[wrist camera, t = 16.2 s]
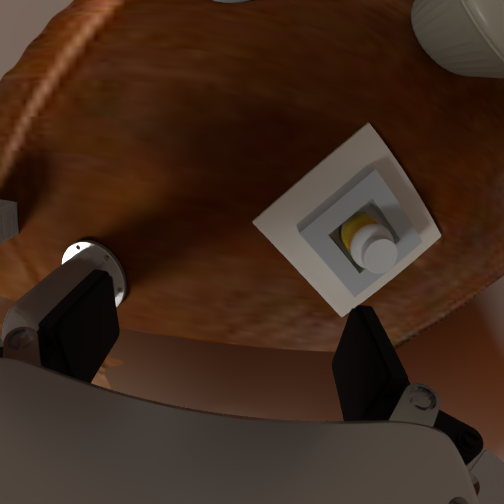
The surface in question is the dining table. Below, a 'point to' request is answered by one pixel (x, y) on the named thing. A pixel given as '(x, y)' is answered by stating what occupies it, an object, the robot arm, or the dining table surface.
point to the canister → (462, 35)
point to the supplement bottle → (368, 242)
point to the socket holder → (339, 210)
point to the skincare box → (8, 220)
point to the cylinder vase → (231, 1)
